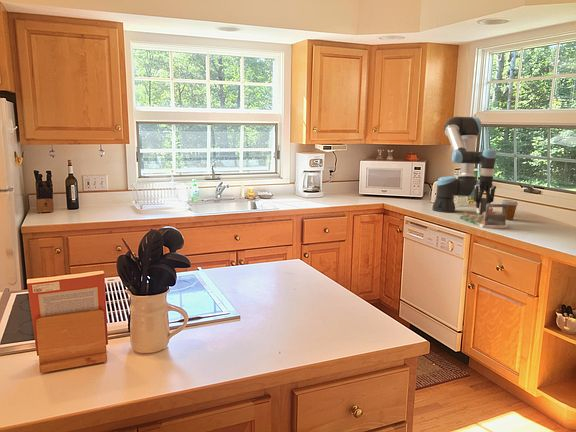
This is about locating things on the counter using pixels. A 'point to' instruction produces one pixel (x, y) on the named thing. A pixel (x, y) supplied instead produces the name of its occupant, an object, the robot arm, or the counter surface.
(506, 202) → the disposable coffee cup
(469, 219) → the pitch
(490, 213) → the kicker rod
